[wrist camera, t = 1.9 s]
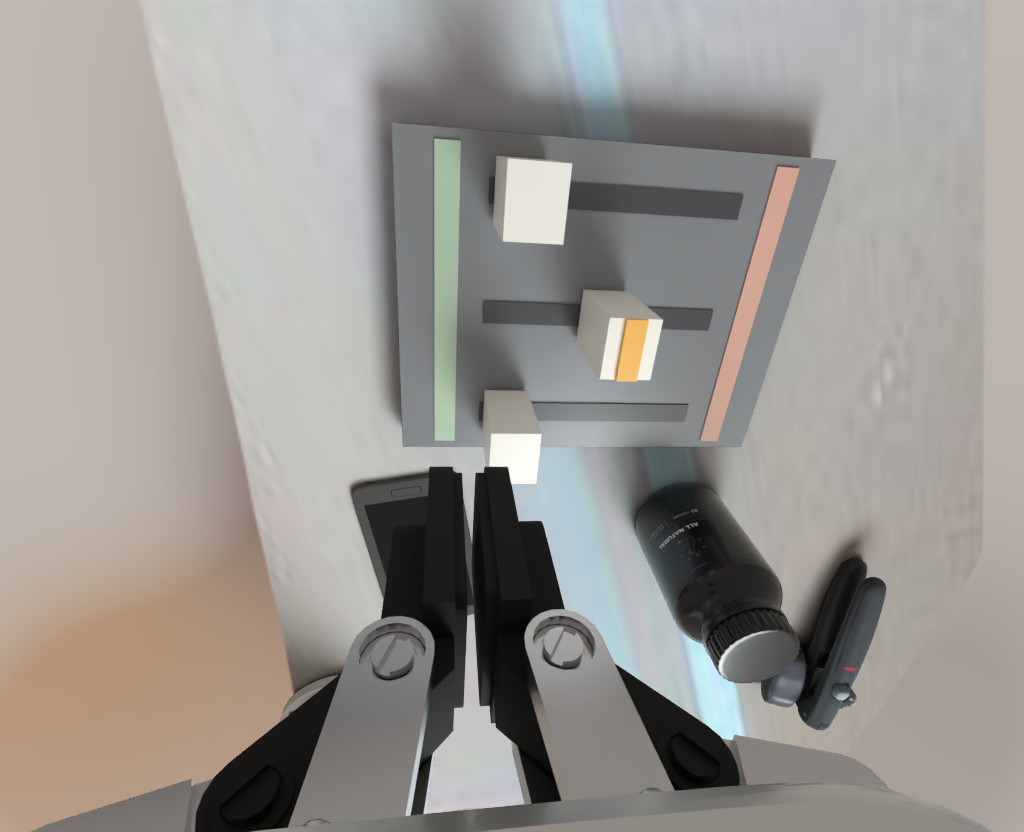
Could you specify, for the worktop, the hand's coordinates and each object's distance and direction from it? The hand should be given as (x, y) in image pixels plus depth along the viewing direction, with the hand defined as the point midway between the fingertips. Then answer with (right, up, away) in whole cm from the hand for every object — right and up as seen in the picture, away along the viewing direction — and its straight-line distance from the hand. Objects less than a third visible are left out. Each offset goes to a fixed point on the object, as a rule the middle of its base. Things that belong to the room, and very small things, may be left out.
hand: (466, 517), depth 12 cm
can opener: (+29, -17, +35) cm, 49 cm away
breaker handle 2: (+1, +3, +18) cm, 18 cm away
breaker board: (+6, +9, +18) cm, 21 cm away
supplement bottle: (+14, -5, +27) cm, 30 cm away
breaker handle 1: (+1, +13, +12) cm, 18 cm away
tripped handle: (+6, +8, +16) cm, 19 cm away
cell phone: (-6, -7, +26) cm, 27 cm away
